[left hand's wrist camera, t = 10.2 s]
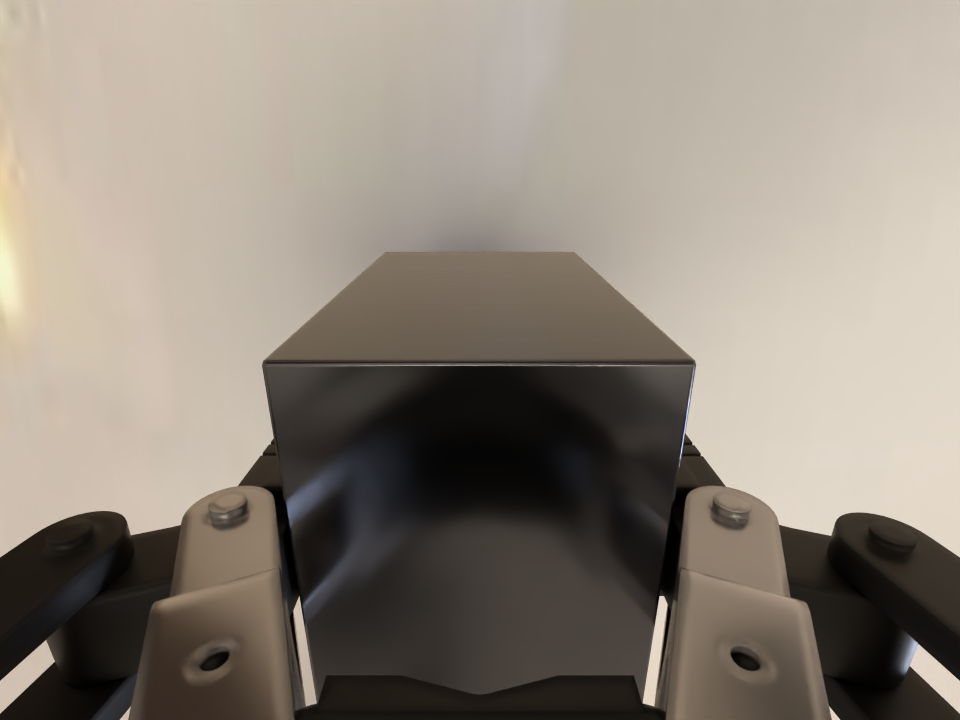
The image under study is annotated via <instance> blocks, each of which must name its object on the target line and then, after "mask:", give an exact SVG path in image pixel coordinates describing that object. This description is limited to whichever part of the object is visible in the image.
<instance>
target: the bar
mask: <svg viewBox="0 0 960 720" xmlns="http://www.w3.org/2000/svg"><path fill="white" fill-rule="evenodd" d="M262 367H263V373H264V380H265V386H266V392H267V398H268V404H269V410H270V417H271V423H272V429H273V435H274V441H275V447H276V453H277V460H278V466H279V472H280V478H281V484H282V490H283V497H284V503H285V509H286V515H287V521H288V527H289V534H290V540H291V546H292V552H293V558H294V564H295V571H296V577H297V583H298V589H299V595H300V601H301V607H302V614H303V620H304V626H305V632H306V638H307V644H308V651H309V657H310V663H311V669H312V675H313V681H314V688H315V694H316V700H317V703H318V701H319V697H320V694H321V691H322V687H323V684H324V681H325V677H326V675H402V676H406V677H410V678H414V679H418V680H422V681H425V682H429V683H433V684H437V685H441V686H445V687H448V688H452V689H456V690H460V691H464V692H468V693H472V694H488V693H492V692H496V691H500V690H504V689H508V688H511V687H515V686H519V685H523V684H527V683H531V682H535V681H538V680H542V679H546V678H550V677H554V676H558V675H634V677H635V681H636V684H637V687H638V691H639V694H640V697H641V701H642V702H643V696H644V690H645V683H646V677H647V671H648V664H649V658H650V652H651V645H652V639H653V633H654V626H655V620H656V614H657V608H658V601H659V595H660V589H661V582H662V576H663V570H664V563H665V557H666V551H667V544H668V538H669V532H670V525H671V519H672V513H673V506H674V500H675V494H676V488H677V481H678V475H679V469H680V462H681V456H682V450H683V443H684V437H685V431H686V424H687V418H688V412H689V405H690V399H691V393H692V386H693V380H694V374H695V368H696V363H695V360H694V359H693V358H691V357H690V356H689V355H688V354H687V353H686V352H685V351H684V350H683V349H681V348H680V347H679V346H678V345H677V344H676V343H675V342H674V341H673V340H671V339H670V338H669V337H668V336H667V335H666V334H665V333H664V332H663V331H661V330H660V329H659V328H658V327H657V326H656V325H655V324H654V323H652V322H651V321H650V320H649V319H648V318H647V317H646V316H645V315H644V314H642V313H641V312H640V311H639V310H638V309H637V308H636V307H635V306H634V305H632V304H631V303H630V302H629V301H628V300H627V299H626V298H625V297H624V296H622V295H621V294H620V293H619V292H618V291H617V290H616V289H615V288H614V287H612V286H611V285H610V284H609V283H608V282H607V281H606V280H605V279H603V278H602V277H601V276H600V275H599V274H598V273H597V272H596V271H595V270H593V269H592V268H591V267H590V266H589V265H588V264H587V263H586V262H585V261H583V260H582V259H581V258H580V257H579V256H578V255H577V254H576V253H574V252H386V253H384V254H383V255H382V256H380V257H379V258H378V259H377V260H376V261H375V262H374V263H373V264H372V265H370V266H369V267H368V268H367V269H366V270H365V271H364V272H363V273H361V274H360V275H359V276H358V277H357V278H356V279H355V280H354V281H352V282H351V283H350V284H349V285H348V286H347V287H346V288H345V289H343V290H342V291H341V292H340V293H339V294H338V295H337V296H336V297H334V298H333V299H332V300H331V301H330V302H329V303H328V304H327V305H326V306H324V307H323V308H322V309H321V310H320V311H319V312H318V313H317V314H315V315H314V316H313V317H312V318H311V319H310V320H309V321H308V322H306V323H305V324H304V325H303V326H302V327H301V328H300V329H299V330H297V331H296V332H295V333H294V334H293V335H292V336H291V337H290V338H288V339H287V340H286V341H285V342H284V343H283V344H282V345H281V346H280V347H278V348H277V349H276V350H275V351H274V352H273V353H272V354H271V355H269V356H268V357H267V358H266V359H265V360H264V361H263V364H262Z"/></svg>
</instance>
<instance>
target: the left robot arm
mask: <svg viewBox="0 0 960 720" xmlns="http://www.w3.org/2000/svg"><path fill="white" fill-rule="evenodd" d="M659 596H664V597H665V599H666V601H667V604H668V606H667V612H666V618H665V624H664V632H663V640H662V648H661V657H660V665H659V673H658V681H657V689H656V697H655V705H654V707H653V706H650V705H646V704H643V703H642V701H641V697H640V694H639V691H638V687H637V684H636V681H635V677H634V675H558V676H554V677H550V678H546V679H542V680H538V681H535V682H531V683H527V684H523V685H519V686H515V687H511V688H508V689H504V690H500V691H496V692H492V693H488V694H472V693H468V692H464V691H460V690H456V689H452V688H448V687H445V686H441V685H437V684H433V683H429V682H425V681H422V680H418V679H414V678H410V677H406V676H402V675H326V677H325V681H324V684H323V687H322V691H321V694H320V697H319V701H318V703H317V704H314V705H310V706H307V707H306V705H305V697H304V689H303V681H302V673H301V665H300V657H299V648H298V640H297V632H296V624H295V618H294V612H293V610H294V607H295V605H296V602H297V600H298V598H299V589H298V583H297V577H296V571H295V564H294V558H293V552H292V546H291V540H290V534H289V527H288V521H287V515H286V509H285V503H284V497H283V490H282V484H281V478H280V472H279V466H278V460H277V453H276V447H275V441H274V439H273V440H272V441H271V445H268V447H267V448H266V449H265V451H264V452H263V456H260V457H259V459H258V460H257V461H256V463H255V464H254V465H253V467H252V468H251V469H250V471H249V472H248V473H247V475H246V476H245V477H244V479H243V480H242V481H241V483H240V484H239V485H238V486H237V487H231V488H227V489H223V490H220V491H217V492H214V493H212V494H210V495H208V496H206V497H204V498H202V499H201V500H199V501H198V502H196V503H195V504H194V505H192V506H191V507H190V508H189V509H188V510H187V512H186V513H185V515H184V516H183V519H182V523H181V525H179V526H175V527H171V528H166V529H161V530H156V531H151V532H146V533H141V534H136V535H131V534H130V531H129V528H128V524H127V521H126V519H125V517H123V516H122V515H121V514H118V513H116V512H111V511H96V512H89V513H84V514H80V515H76V516H73V517H69V518H67V519H64V520H61V521H59V522H56V523H54V524H52V525H50V526H48V527H46V528H44V529H42V530H41V531H39V532H37V533H36V534H34V535H33V536H31V537H30V538H28V539H27V540H25V541H24V542H22V543H21V544H19V545H18V546H17V547H15V548H14V549H12V550H11V551H9V552H8V553H6V554H5V555H3V556H2V557H0V680H1V679H3V678H4V677H5V676H6V675H7V674H8V673H9V672H10V671H12V670H13V669H14V668H15V667H16V666H17V665H18V664H19V663H20V662H22V661H23V660H24V659H25V658H26V657H27V656H28V655H29V654H31V653H32V652H33V651H34V650H35V649H36V648H37V647H38V646H39V645H41V644H42V643H43V642H44V641H45V640H47V643H48V645H49V648H50V650H51V653H52V655H53V658H54V660H55V662H54V663H53V664H52V665H51V666H50V667H49V668H48V669H47V670H46V671H45V672H44V673H43V674H42V675H41V676H40V677H38V678H37V679H36V680H35V681H34V682H33V683H32V684H31V685H30V686H29V687H28V688H27V689H26V690H25V691H24V692H23V693H22V694H21V695H20V696H19V697H17V698H16V699H15V700H14V701H13V702H12V703H11V704H10V705H9V706H8V707H7V708H6V709H5V710H4V711H3V712H2V713H1V714H0V720H120V718H121V717H122V716H123V715H124V714H125V712H126V711H127V710H128V709H129V708H130V706H131V709H130V714H129V719H128V720H832V719H831V714H830V709H829V706H830V708H831V709H832V710H833V711H834V712H835V714H836V715H837V716H838V717H839V718H840V720H960V714H959V713H958V712H957V711H956V710H955V709H954V708H953V707H952V706H951V705H950V704H949V703H948V702H947V701H946V700H945V699H944V698H943V697H941V696H940V695H939V694H938V693H937V692H936V691H935V690H934V689H933V688H932V687H931V686H930V685H929V684H928V683H927V682H926V681H925V680H924V679H923V678H922V677H920V676H919V675H918V674H917V673H916V672H915V671H914V670H913V669H912V668H911V667H910V666H909V665H910V663H911V661H912V658H913V656H914V653H915V651H916V648H917V646H918V644H919V645H921V646H922V647H923V648H924V649H925V650H926V651H927V652H928V653H929V654H931V655H932V656H933V657H934V658H935V659H936V660H937V661H938V662H940V663H941V664H942V665H943V666H944V667H945V668H946V669H947V670H948V671H950V672H951V673H952V674H953V675H954V676H955V677H956V678H957V679H959V680H960V557H958V556H957V555H955V554H954V553H952V552H951V551H949V550H948V549H946V548H945V547H943V546H942V545H941V544H939V543H938V542H936V541H935V540H933V539H932V538H930V537H929V536H927V535H926V534H924V533H922V532H921V531H919V530H917V529H915V528H913V527H911V526H909V525H907V524H905V523H902V522H900V521H897V520H894V519H891V518H888V517H884V516H880V515H876V514H870V513H849V514H845V515H842V516H840V517H839V518H838V519H837V521H836V523H835V526H834V529H833V532H832V536H828V535H823V534H818V533H813V532H808V531H803V530H798V529H793V528H789V527H785V526H781V525H779V523H778V519H777V516H776V515H775V513H774V512H773V510H772V509H771V508H770V507H769V506H768V505H766V504H765V503H764V502H762V501H761V500H759V499H758V498H756V497H754V496H752V495H750V494H748V493H746V492H743V491H740V490H737V489H733V488H729V487H726V486H725V485H724V484H723V482H722V481H721V480H720V478H719V477H718V476H717V474H716V473H715V472H714V471H713V469H712V468H711V467H710V465H709V464H708V463H707V461H706V460H705V459H704V457H703V456H701V453H700V452H699V451H698V450H697V448H696V447H695V446H694V445H692V442H691V440H690V439H689V438H688V436H687V435H686V434H685V437H684V443H683V450H682V456H681V462H680V469H679V475H678V481H677V488H676V494H675V500H674V506H673V513H672V519H671V525H670V532H669V538H668V544H667V551H666V557H665V563H664V570H663V576H662V582H661V589H660V595H659Z"/></svg>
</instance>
